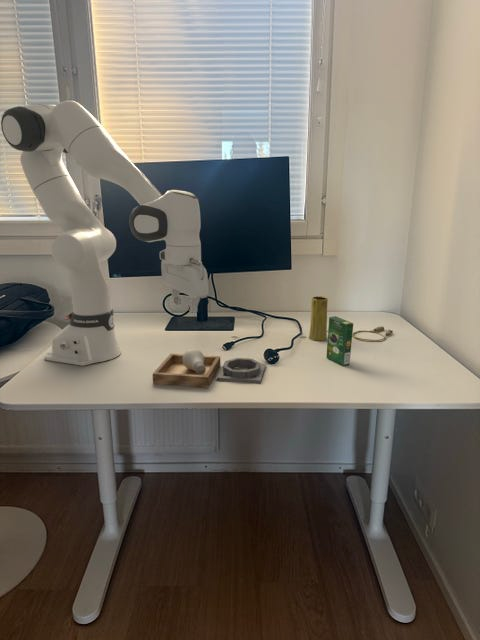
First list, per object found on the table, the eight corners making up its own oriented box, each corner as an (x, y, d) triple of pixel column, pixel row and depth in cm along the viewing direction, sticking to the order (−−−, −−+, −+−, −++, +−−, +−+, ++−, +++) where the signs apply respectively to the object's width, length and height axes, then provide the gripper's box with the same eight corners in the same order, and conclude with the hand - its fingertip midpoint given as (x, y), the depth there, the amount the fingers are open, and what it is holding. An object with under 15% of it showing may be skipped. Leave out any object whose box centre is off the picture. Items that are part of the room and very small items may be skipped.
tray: (153, 384, 116) (152, 373, 116) (171, 363, 131) (170, 353, 130) (208, 388, 114) (208, 377, 113) (220, 366, 128) (220, 356, 127)
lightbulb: (188, 364, 115) (178, 349, 124) (193, 384, 117) (182, 367, 127) (210, 357, 117) (198, 342, 126) (214, 377, 119) (202, 361, 128)
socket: (216, 380, 119) (216, 371, 118) (225, 363, 130) (225, 355, 129) (260, 383, 117) (260, 374, 116) (265, 366, 128) (265, 358, 127)
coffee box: (351, 365, 128) (354, 322, 125) (343, 367, 127) (346, 323, 123) (333, 356, 135) (335, 315, 132) (325, 358, 134) (328, 316, 130)
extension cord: (403, 341, 150) (403, 335, 150) (360, 344, 147) (361, 338, 146) (384, 330, 162) (385, 325, 161) (344, 333, 158) (345, 328, 158)
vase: (319, 342, 148) (321, 301, 144) (305, 337, 152) (306, 297, 148) (330, 338, 152) (332, 298, 148) (316, 334, 156) (318, 295, 152)
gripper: (214, 260, 106) (214, 315, 110) (177, 250, 123) (179, 298, 127) (191, 262, 103) (192, 319, 107) (156, 251, 119) (158, 301, 123)
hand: (184, 307), depth 117 cm, fingers open, 8 cm apart
